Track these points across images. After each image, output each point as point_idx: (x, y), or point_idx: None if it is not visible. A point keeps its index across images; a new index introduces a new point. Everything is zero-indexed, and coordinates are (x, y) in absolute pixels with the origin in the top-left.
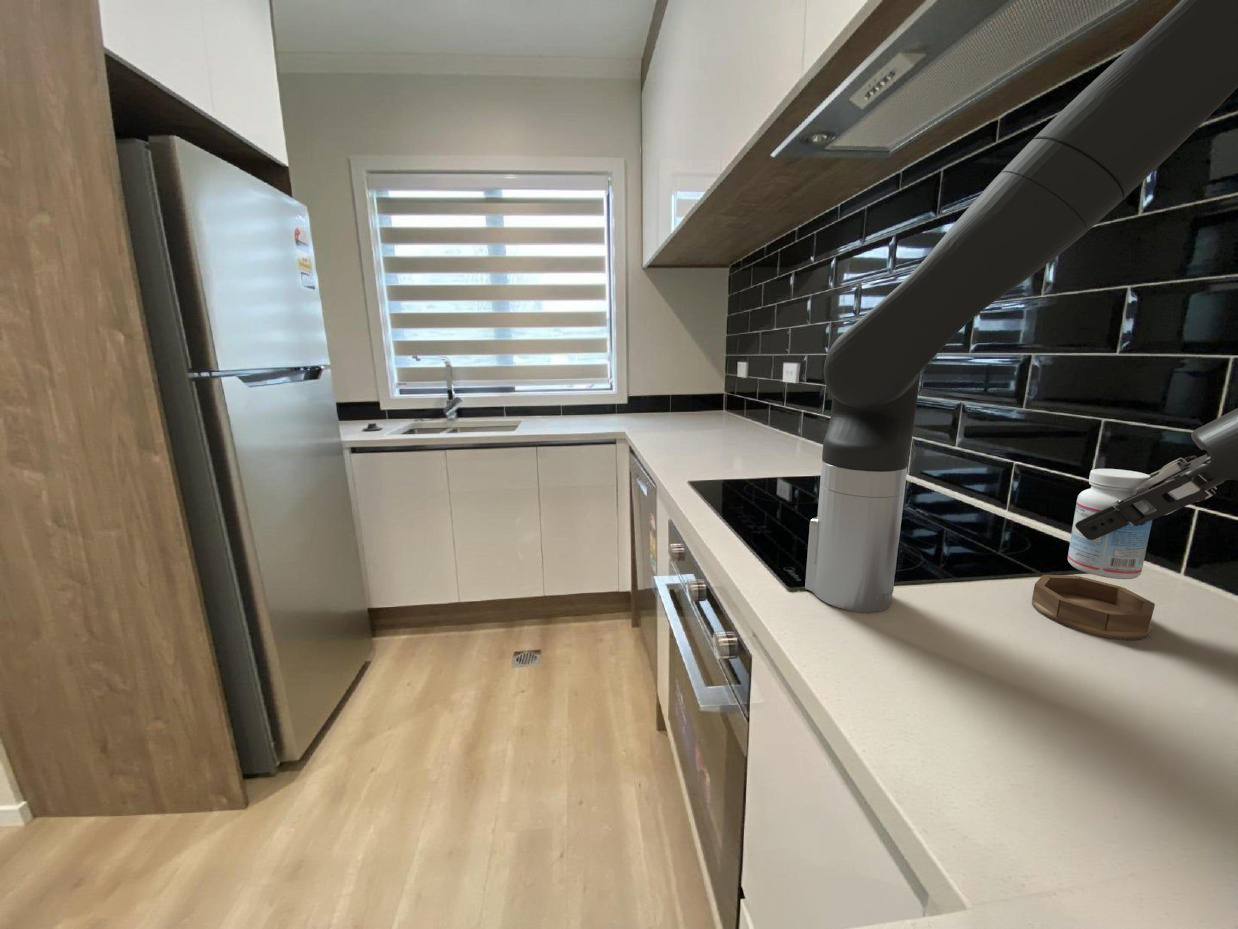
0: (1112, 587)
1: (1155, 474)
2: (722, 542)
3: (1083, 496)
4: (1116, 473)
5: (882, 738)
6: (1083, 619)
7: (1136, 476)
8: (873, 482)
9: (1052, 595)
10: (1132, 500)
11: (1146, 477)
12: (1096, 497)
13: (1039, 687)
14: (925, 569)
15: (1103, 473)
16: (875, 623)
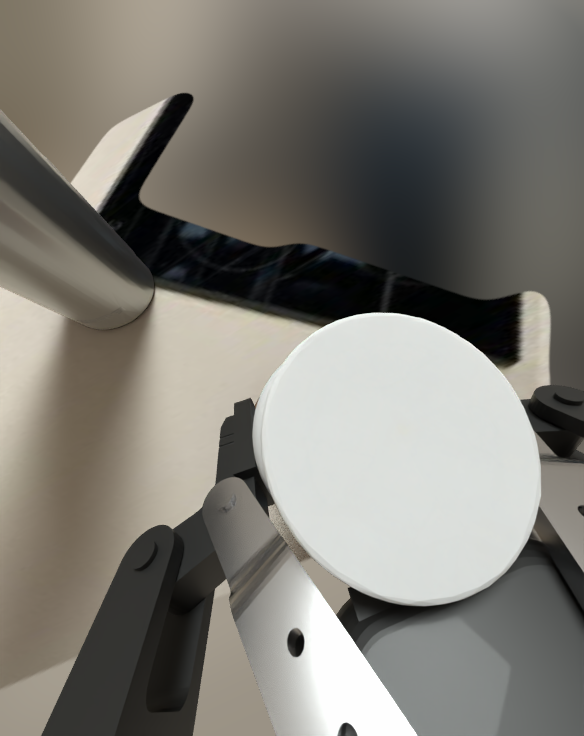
0: None
1: (580, 572)
2: (108, 152)
3: (275, 373)
4: (373, 427)
5: None
6: None
7: (386, 544)
8: None
9: (255, 404)
10: (91, 638)
11: (413, 600)
12: (259, 416)
13: (92, 491)
14: (256, 277)
15: (301, 394)
16: (77, 344)
